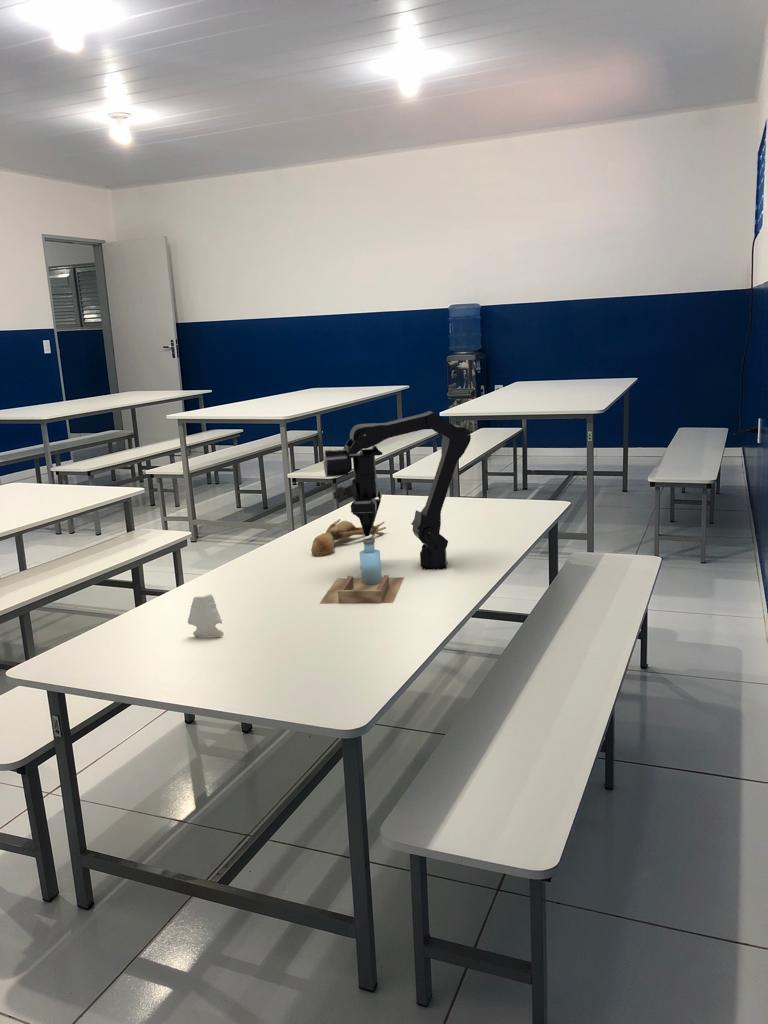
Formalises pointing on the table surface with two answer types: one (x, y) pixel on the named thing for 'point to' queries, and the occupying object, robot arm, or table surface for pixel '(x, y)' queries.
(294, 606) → the table surface
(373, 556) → the bottle
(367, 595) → the rest
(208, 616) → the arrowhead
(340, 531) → the toy
